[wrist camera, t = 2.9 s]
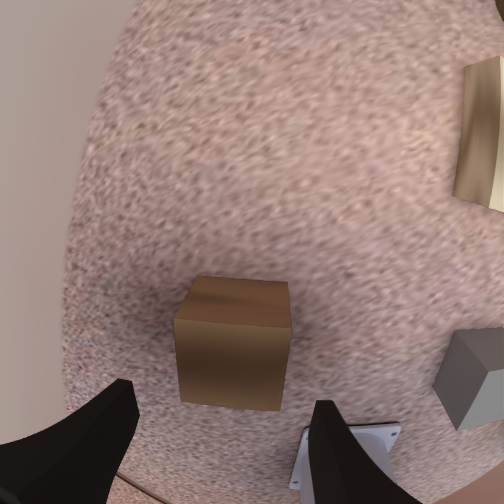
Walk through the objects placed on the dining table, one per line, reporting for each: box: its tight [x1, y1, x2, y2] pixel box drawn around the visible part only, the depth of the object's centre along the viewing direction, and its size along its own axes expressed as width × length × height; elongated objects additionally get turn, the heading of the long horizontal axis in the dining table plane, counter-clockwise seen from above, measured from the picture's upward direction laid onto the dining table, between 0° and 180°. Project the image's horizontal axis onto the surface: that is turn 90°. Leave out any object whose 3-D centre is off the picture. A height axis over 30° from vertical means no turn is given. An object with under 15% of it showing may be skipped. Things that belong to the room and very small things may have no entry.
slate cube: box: [433, 328, 504, 431], centre depth 16 cm, size 5×5×5 cm
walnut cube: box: [173, 276, 292, 411], centre depth 16 cm, size 5×5×5 cm
